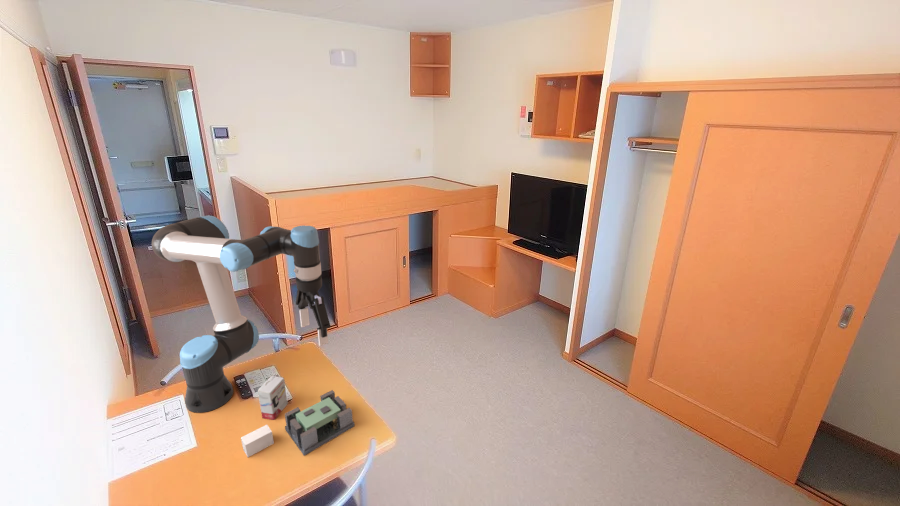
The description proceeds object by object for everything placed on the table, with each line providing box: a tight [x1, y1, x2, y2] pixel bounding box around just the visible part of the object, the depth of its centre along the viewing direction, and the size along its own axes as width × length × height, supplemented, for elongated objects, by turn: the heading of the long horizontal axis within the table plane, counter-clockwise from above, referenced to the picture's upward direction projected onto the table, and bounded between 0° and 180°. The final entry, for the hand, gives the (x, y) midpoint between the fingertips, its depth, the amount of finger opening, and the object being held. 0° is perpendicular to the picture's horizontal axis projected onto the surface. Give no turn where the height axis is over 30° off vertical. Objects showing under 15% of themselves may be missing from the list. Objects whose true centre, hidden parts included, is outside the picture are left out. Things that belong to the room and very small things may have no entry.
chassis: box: [284, 389, 356, 457], centre depth 134 cm, size 14×18×7 cm
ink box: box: [257, 375, 288, 421], centre depth 140 cm, size 9×5×12 cm, turn 168°
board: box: [296, 397, 341, 431], centre depth 133 cm, size 8×12×3 cm, turn 134°
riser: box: [240, 424, 275, 458], centre depth 126 cm, size 4×8×5 cm, turn 134°
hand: (314, 334), depth 131 cm, fingers open, 13 cm apart
